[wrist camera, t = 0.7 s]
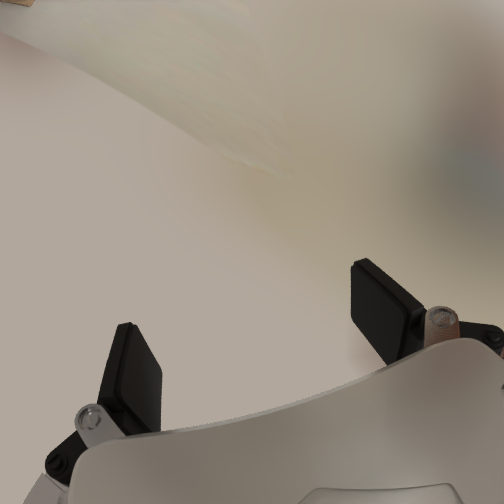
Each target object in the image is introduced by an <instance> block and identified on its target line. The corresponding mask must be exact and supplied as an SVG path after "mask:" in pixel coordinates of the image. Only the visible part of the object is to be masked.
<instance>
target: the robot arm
mask: <svg viewBox="0 0 504 504" xmlns="http://www.w3.org/2000/svg"><path fill="white" fill-rule="evenodd" d="M351 318H352V320H353V322H354V323H355V324H356V326H357V327H358V328H359V330H360V331H361V332H362V333H363V335H364V336H365V337H366V339H367V340H368V341H369V343H370V344H371V345H372V346H373V348H374V349H375V350H376V352H377V353H378V354H379V355H380V357H381V358H382V359H383V361H384V362H385V363H386V365H387V366H386V367H383V368H381V369H379V370H377V371H375V372H372V373H370V374H368V375H365V376H363V377H361V378H359V379H356V380H354V381H351V382H349V383H346V384H344V385H341V386H339V387H336V388H333V389H331V390H328V391H325V392H322V393H320V394H317V395H314V396H311V397H308V398H305V399H302V400H299V401H296V402H293V403H290V404H286V405H283V406H280V407H277V408H273V409H270V410H266V411H262V412H258V413H254V414H250V415H246V416H242V417H238V418H234V419H229V420H225V421H220V422H215V423H210V424H206V425H199V426H193V427H187V428H181V429H175V430H168V431H161V394H162V370H161V368H160V366H159V364H158V362H157V361H156V359H155V357H154V355H153V354H152V352H151V350H150V348H149V347H148V345H147V343H146V341H145V339H144V338H143V336H142V334H141V332H140V330H139V328H138V326H137V325H133V324H132V323H131V322H129V323H124V324H119V325H118V327H117V330H116V333H115V336H114V340H113V343H112V346H111V350H110V354H109V357H108V360H107V363H106V367H105V371H104V375H103V379H102V383H101V387H100V391H99V396H98V400H97V404H88V405H86V406H84V407H82V408H81V409H80V410H79V411H78V413H77V414H76V417H75V427H76V429H77V430H76V431H75V432H74V433H73V434H72V435H70V436H69V437H68V438H67V439H66V440H64V441H63V442H62V443H61V444H60V445H59V446H57V448H55V449H54V450H53V451H52V452H50V454H49V455H48V456H47V458H46V461H45V469H46V474H43V473H42V474H41V475H40V477H39V478H38V480H37V481H36V483H35V485H34V486H33V488H32V489H31V491H30V492H29V494H28V496H27V497H26V499H25V501H24V503H23V504H504V332H503V330H501V329H500V328H499V327H497V326H494V325H488V324H479V323H471V322H463V321H459V319H458V315H457V314H456V313H455V311H454V310H452V309H451V308H448V307H445V306H435V307H432V308H430V309H429V310H428V311H427V310H426V309H425V308H424V306H423V305H422V304H421V303H420V302H419V301H418V300H416V299H415V298H414V297H413V296H412V295H411V294H410V293H409V292H407V291H406V290H405V289H404V288H403V287H402V286H400V285H399V284H398V283H397V282H396V281H394V280H393V279H392V278H391V277H390V276H388V275H387V274H386V273H385V272H384V271H382V270H381V269H380V268H379V267H378V266H376V265H375V264H374V263H372V262H371V261H370V260H369V259H367V258H364V259H361V260H358V261H355V262H354V265H353V266H351Z"/></svg>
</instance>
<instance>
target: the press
mask: <svg viewBox="0 0 504 504" xmlns="http://www.w3.org/2000/svg"><path fill="white" fill-rule="evenodd" d="M0 1H3V2H9V3H14V4H19V5H24V6H29V7H30V6H31V5H32V3H33V2H34V1H35V0H0Z"/></svg>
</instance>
